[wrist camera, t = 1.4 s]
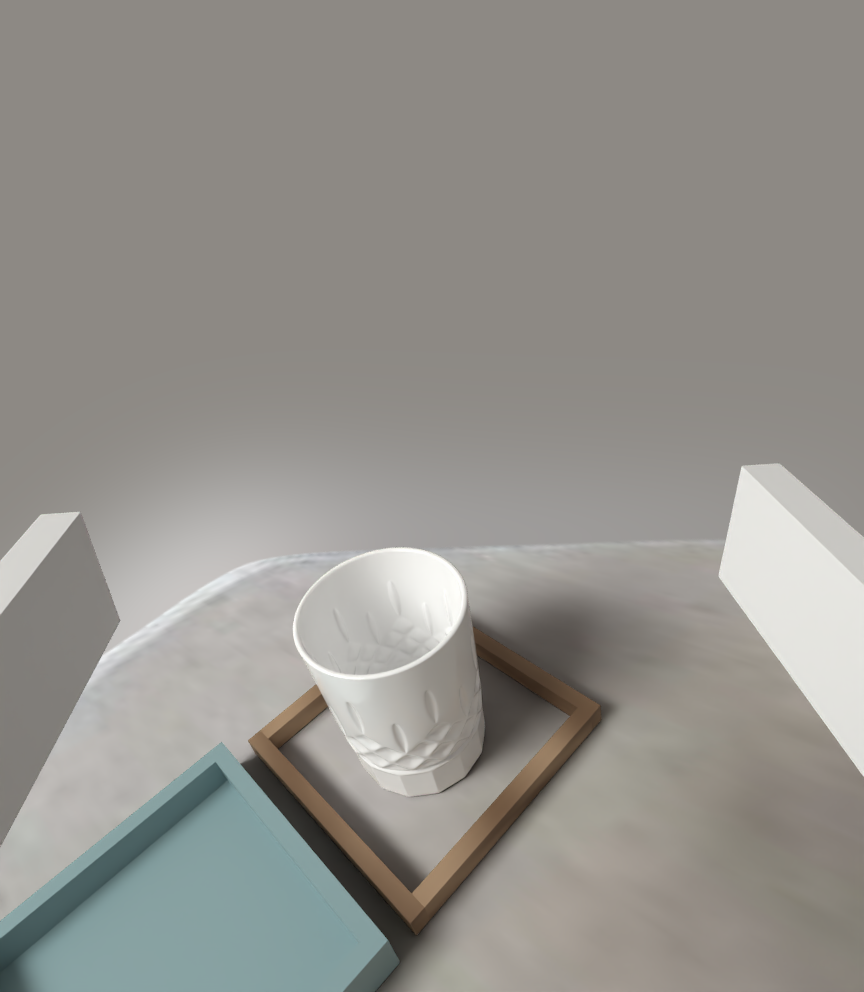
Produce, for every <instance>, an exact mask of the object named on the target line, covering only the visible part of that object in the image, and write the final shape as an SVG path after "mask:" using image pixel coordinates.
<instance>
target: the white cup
mask: <svg viewBox="0 0 864 992" xmlns="http://www.w3.org/2000/svg"><path fill="white" fill-rule="evenodd" d="M293 636H294V641H295V644H296V647H297V649H298V651H299V653H300V655H301V657H302V659H303V660H304V662H305V664H306V666H307V668H308V670H309V672H310V673H311V675H312V677H313V679H314V681H315V683H316V685H317V687H318V688H319V690H320V692H321V694H322V696H323V698H324V700H325V702H326V704H327V705H328V707H329V709H330V711H331V713H332V715H333V717H334V718H335V720H336V722H337V723H338V725H339V727H340V728H341V730H342V732H343V734H344V736H345V737H346V739H347V741H348V742H349V744H350V745H351V747H352V748H353V749H354V751H355V752H356V754H357V756H358V758H359V760H360V762H361V763H362V765H363V767H364V769H365V770H366V771H367V772H368V773H369V774H370V776H371V777H372V778H373V779H374V780H375V781H376V782H377V783H378V784H379V785H380V787H381V788H383V789H386V790H389V791H392V792H395V793H398V794H401V795H404V796H407V797H413V796H420V795H428V794H435V793H440V792H441V791H443V790H445V789H446V788H448V787H449V786H451V785H453V784H454V783H456V782H458V781H459V780H461V779H462V778H464V777H465V776H466V775H467V773H468V772H469V771H470V769H471V768H472V766H473V765H474V763H475V762H476V760H477V759H478V757H479V756H480V754H481V753H482V748H483V740H484V733H485V720H484V714H483V708H482V692H481V682H480V676H479V666H478V658H477V651H476V645H475V639H474V633H473V626H472V620H471V614H470V607H469V600H468V593H467V588H466V584H465V581H464V579H463V577H462V575H461V574H460V572H459V571H458V570H457V568H456V567H455V566H454V565H453V564H452V563H450V562H449V561H448V560H446V559H445V558H443V557H441V556H439V555H437V554H435V553H432V552H429V551H426V550H422V549H417V548H408V547H395V548H385V549H379V550H374V551H370V552H367V553H363V554H360V555H358V556H355V557H353V558H350V559H348V560H346V561H344V562H342V563H341V564H339V565H337V566H335V567H334V568H332V569H331V570H329V571H328V572H327V573H325V574H324V575H323V576H322V577H321V578H319V579H318V580H317V581H316V582H315V583H314V584H313V585H312V586H311V588H310V589H309V590H308V591H307V593H306V594H305V595H304V597H303V598H302V600H301V602H300V604H299V606H298V608H297V611H296V614H295V617H294V622H293Z"/></svg>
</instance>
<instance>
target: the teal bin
mask: <svg viewBox="0 0 864 992" xmlns="http://www.w3.org/2000/svg"><path fill="white" fill-rule="evenodd" d="M399 963H400V961H399V959H398V957H397V956H396V954H395V952H394V950H393V948H392V946H391V945H390V943H389V941H388V939H387V938H386V937H385V936H384V935H383V934H382V932H381V931H380V930H379V929H378V928H377V926H376V925H375V924H374V923H373V922H372V920H371V919H370V918H369V917H368V916H367V914H366V913H365V912H364V911H363V910H362V909H361V907H360V906H359V905H358V904H357V903H356V901H355V900H354V899H353V898H352V897H351V895H350V894H349V893H348V892H347V891H346V889H345V888H344V887H343V886H342V885H341V884H340V882H339V881H338V880H337V879H336V878H335V876H334V875H333V874H332V873H331V872H330V870H329V869H328V868H327V867H326V866H325V864H324V863H323V862H322V861H321V860H320V858H319V857H318V856H317V855H316V854H315V853H314V851H313V850H312V849H311V848H310V847H309V845H308V844H307V843H306V842H305V841H304V839H303V838H302V837H301V836H300V835H299V833H298V832H297V831H296V830H295V829H294V828H293V826H292V825H291V824H290V823H289V822H288V820H287V819H286V818H285V817H284V816H283V814H282V813H281V812H280V811H279V810H278V808H277V807H276V806H275V805H274V804H273V803H272V801H271V800H270V799H269V798H268V797H267V795H266V794H265V793H264V792H263V791H262V789H261V788H260V787H259V786H258V785H257V783H256V782H255V781H254V780H253V779H252V778H251V776H250V775H249V774H248V773H247V772H246V770H245V769H244V768H243V767H242V766H241V764H240V763H239V762H238V761H237V760H236V758H235V757H234V756H233V755H232V754H231V752H230V751H229V750H228V749H227V748H226V747H225V745H224V744H223V743H222V742H221V743H220V744H218V745H217V746H216V747H215V748H213V749H212V750H211V751H210V752H209V753H207V754H206V755H205V756H204V757H202V758H201V759H200V760H199V761H197V762H196V763H195V764H194V765H192V766H191V767H190V768H189V769H188V770H186V771H185V772H184V773H183V774H181V775H180V776H179V777H178V778H176V779H175V780H174V781H173V782H171V783H170V784H169V785H168V786H166V787H165V788H164V789H163V790H162V791H160V792H159V793H158V794H157V795H155V796H154V797H153V798H152V799H150V800H149V801H148V802H147V803H145V804H144V805H143V806H142V807H141V808H139V809H138V810H137V811H136V812H134V813H133V814H132V815H131V816H129V817H128V818H127V819H126V820H124V821H123V822H122V823H121V824H119V825H118V826H117V827H116V828H115V829H113V830H112V831H111V832H110V833H108V834H107V835H106V836H105V837H103V838H102V839H101V840H100V841H98V842H97V843H96V844H95V845H94V846H92V847H91V848H90V849H89V850H87V851H86V852H85V853H84V854H82V855H81V856H80V857H79V858H77V859H76V860H75V861H74V862H72V863H71V864H70V865H69V866H68V867H66V868H65V869H64V870H63V871H61V872H60V873H59V874H58V875H56V876H55V877H54V878H53V879H51V880H50V881H49V882H48V883H47V884H45V885H44V886H43V887H42V888H40V889H39V890H38V891H37V892H35V893H34V894H33V895H32V896H30V897H29V898H28V899H27V900H25V901H24V902H23V903H22V904H21V905H19V906H18V907H17V908H16V909H14V910H13V911H12V912H11V913H9V914H8V915H7V916H6V917H4V918H3V919H2V920H1V921H0V992H375V991H376V990H377V989H378V988H379V987H380V985H381V984H382V983H383V982H384V981H385V979H386V978H387V977H388V976H389V975H390V974H391V972H392V971H393V970H394V969H395V968H396V967H397V965H398V964H399Z"/></svg>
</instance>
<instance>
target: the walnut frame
mask: <svg viewBox="0 0 864 992" xmlns="http://www.w3.org/2000/svg"><path fill="white" fill-rule="evenodd" d="M473 633H474V639H475V645H476V651H477V655H478V656H479V657H481V658H482V659H484V660H485V661H487V662H488V663H490V664H491V665H493V666H494V667H496V668H498V669H499V670H501V671H502V672H504V673H505V674H507V675H508V676H510V677H511V678H513V679H514V680H516V681H517V682H519V683H520V684H522V685H523V686H525V687H527V688H528V689H530V690H531V691H533V692H534V693H536V694H537V695H539V696H540V697H542V698H543V699H545V700H546V701H548V702H549V703H551V704H552V705H554V706H556V707H557V708H559V709H560V710H562V711H563V712H565V713H566V714H568V715H569V716H570V717H569V718H568V719H567V720H566V721H565V723H564V724H563V725H562V726H561V727H560V728H559V729H558V730H557V732H556V733H555V734H554V735H553V736H552V737H551V738H550V739H549V740H548V742H547V743H546V744H545V745H544V746H543V747H542V748H541V749H540V751H539V752H538V753H537V754H536V755H535V756H534V757H533V758H532V759H531V761H530V762H529V763H528V764H527V765H526V766H525V767H524V768H523V770H522V771H521V772H520V773H519V774H518V775H517V776H516V777H515V779H514V780H513V781H512V782H511V783H510V784H509V785H508V786H507V787H506V789H505V790H504V791H503V792H502V793H501V794H500V795H499V796H498V798H497V799H496V800H495V801H494V802H493V803H492V804H491V805H490V806H489V808H488V809H487V810H486V811H485V812H484V813H483V814H482V815H481V817H480V818H479V819H478V820H477V821H476V822H475V823H474V824H473V825H472V827H471V828H470V829H469V830H468V831H467V832H466V833H465V834H464V836H463V837H462V838H461V839H460V840H459V841H458V842H457V843H456V845H455V846H454V847H453V848H452V849H451V850H450V851H449V852H448V853H447V855H446V856H445V857H444V858H443V859H442V860H441V861H440V862H439V864H438V865H437V866H436V867H435V868H434V869H433V870H432V871H431V872H430V874H429V875H428V876H427V877H426V878H425V879H424V880H423V881H422V883H421V884H420V885H419V886H418V887H417V888H416V889H415V890H414V891H413V893H411V892H410V891H409V890H408V889H407V888H406V887H405V886H404V885H403V884H402V883H401V882H400V880H399V879H398V878H397V877H396V876H395V875H394V874H393V873H392V872H391V871H390V870H389V869H388V867H387V866H386V865H385V864H384V863H383V862H382V861H381V860H380V859H379V858H378V857H377V856H376V855H375V853H374V852H373V851H372V850H371V849H370V848H369V847H368V846H367V845H366V844H365V843H364V842H363V841H362V839H361V838H360V837H359V836H358V835H357V834H356V833H355V832H354V831H353V830H352V829H351V828H350V826H349V825H348V824H347V823H346V822H345V821H344V820H343V819H342V818H341V817H340V816H339V815H338V814H337V812H336V811H335V810H334V809H333V808H332V807H331V806H330V805H329V804H328V803H327V802H326V801H325V800H324V798H323V797H322V796H321V795H320V794H319V793H318V792H317V791H316V790H315V789H314V788H313V787H312V786H311V784H310V783H309V782H308V781H307V780H306V779H305V778H304V777H303V776H302V775H301V774H300V773H299V771H298V770H297V769H296V768H295V767H294V766H293V765H292V764H291V763H290V762H289V761H288V760H287V759H286V757H285V756H284V755H283V754H282V753H281V752H280V751H279V750H278V749H279V748H280V747H281V746H282V745H283V744H284V743H286V742H287V741H288V740H289V739H290V738H291V737H293V736H294V735H295V734H296V733H297V732H298V731H300V730H301V729H302V728H303V727H304V726H306V725H307V724H308V723H309V722H310V721H311V720H313V719H314V718H315V717H316V716H317V715H318V714H320V713H321V712H322V711H323V710H324V709H325V708H327V707H328V705H327V704H326V702H325V700H324V698H323V696H322V694H321V692H320V690H319V688H318V687H317V685H315V686H313V687H312V688H311V689H310V690H309V691H307V692H306V693H305V694H304V695H302V696H301V697H300V698H299V699H298V700H296V701H295V702H294V703H293V704H292V705H290V706H289V707H288V708H287V709H286V710H284V711H283V712H282V713H281V714H279V715H278V716H277V717H276V718H275V719H273V720H272V721H271V722H270V723H269V724H267V725H266V726H265V727H264V728H263V729H261V730H260V731H259V732H258V733H256V734H255V735H254V736H253V737H252V738H250V739H249V740H248V742H249V743H250V745H251V747H252V748H253V750H254V752H255V753H256V754H257V756H258V757H259V758H260V759H261V760H262V761H263V762H264V764H265V765H266V766H267V767H268V768H269V769H270V770H271V771H272V773H273V774H274V775H275V776H276V777H277V778H278V779H279V781H280V782H281V783H282V784H283V785H284V786H285V787H286V788H287V790H288V791H289V792H290V793H291V794H292V795H293V796H294V798H295V799H296V800H297V801H298V802H299V803H300V804H301V805H302V807H303V808H304V809H305V810H306V811H307V812H308V813H309V815H310V816H311V817H312V818H313V819H314V820H315V821H316V822H317V824H318V825H319V826H320V827H321V828H322V829H323V830H324V832H325V833H326V834H327V835H328V836H329V837H330V838H331V839H332V841H333V842H334V843H335V844H336V845H337V846H338V847H339V849H340V850H341V851H342V852H343V853H344V854H345V855H346V857H347V858H348V859H349V860H350V861H351V862H352V863H353V864H354V866H355V867H356V868H357V869H358V870H359V871H360V872H361V874H362V875H363V876H364V877H365V878H366V879H367V880H368V881H369V883H370V884H371V885H372V886H373V887H374V888H375V889H376V891H377V892H378V893H379V894H380V895H381V896H382V897H383V898H384V900H385V901H386V902H387V903H388V904H389V905H390V906H391V908H392V909H393V910H394V911H395V912H396V913H397V914H398V915H399V917H400V918H401V919H402V920H403V921H404V922H405V923H406V925H407V926H408V927H409V928H410V929H411V930H412V931H413V932H414V934H415V935H416V936H417V934H418V933H419V932H420V931H421V930H422V929H423V927H424V926H425V925H426V924H427V923H428V922H429V920H430V919H431V918H432V917H433V916H434V915H435V913H436V912H437V911H438V910H439V909H440V908H441V906H442V905H443V904H444V903H445V902H446V901H447V899H448V898H449V897H450V896H451V895H452V894H453V892H454V891H455V890H456V889H457V888H458V887H459V885H460V884H461V883H462V882H463V881H464V880H465V878H466V877H467V876H468V875H469V874H470V873H471V871H472V870H473V869H474V868H475V867H476V866H477V864H478V863H479V862H480V861H481V860H482V859H483V857H484V856H485V855H486V854H487V853H488V852H489V850H490V849H491V848H492V847H493V846H494V845H495V843H496V842H497V841H498V840H499V839H500V838H501V836H502V835H503V834H504V833H505V832H506V831H507V829H508V828H509V827H510V826H511V825H512V824H513V822H514V821H515V820H516V819H517V818H518V817H519V815H520V814H521V813H522V812H523V811H524V810H525V808H526V807H527V806H528V805H529V804H530V803H531V801H532V800H533V799H534V798H535V797H536V796H537V794H538V793H539V792H540V791H541V790H542V789H543V787H544V786H545V785H546V784H547V783H548V782H549V780H550V779H551V778H552V777H553V776H554V775H555V773H556V772H557V771H558V770H559V769H560V768H561V766H562V765H563V764H564V763H565V762H566V761H567V759H568V758H569V757H570V756H571V755H572V754H573V752H574V751H575V750H576V749H577V748H578V747H579V745H580V744H581V743H582V742H583V741H584V740H585V738H586V737H587V736H588V735H589V734H590V733H591V731H592V730H593V729H594V728H595V727H596V726H597V724H598V723H599V722H600V721H601V705H599V704H597V703H596V702H594V701H593V700H591V699H589V698H588V697H586V696H584V695H583V694H581V693H580V692H578V691H576V690H575V689H573V688H572V687H570V686H568V685H567V684H565V683H563V682H562V681H560V680H559V679H557V678H555V677H554V676H552V675H551V674H549V673H547V672H546V671H544V670H542V669H541V668H539V667H538V666H536V665H534V664H533V663H531V662H530V661H528V660H526V659H525V658H523V657H521V656H520V655H518V654H517V653H515V652H513V651H512V650H510V649H509V648H507V647H505V646H504V645H502V644H500V643H499V642H497V641H496V640H494V639H492V638H491V637H489V636H488V635H486V634H484V633H483V632H481V631H479V630H478V629H476V628H475V627H473Z"/></svg>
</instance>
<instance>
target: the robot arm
mask: <svg viewBox="0 0 864 992" xmlns="http://www.w3.org/2000/svg"><path fill="white" fill-rule="evenodd" d="M719 578H720V579H721V581H722V582H723V583H724V585H725V586H726V587H727V589H728V590H729V592H730V593H731V594H732V596H733V597H734V598H735V600H736V601H737V603H738V604H739V605H740V607H741V608H742V610H743V611H744V612H745V614H746V615H747V616H748V618H749V619H750V621H751V622H752V623H753V625H754V626H755V627H756V629H757V630H758V632H759V633H760V634H761V636H762V637H763V638H764V640H765V641H766V643H767V644H768V645H769V647H770V648H771V650H772V651H773V652H774V654H775V655H776V656H777V658H778V659H779V661H780V662H781V663H782V665H783V666H784V667H785V669H786V670H787V672H788V673H789V674H790V676H791V677H792V678H793V680H794V681H795V683H796V684H797V685H798V687H799V688H800V690H801V691H802V692H803V694H804V695H805V696H806V698H807V699H808V701H809V702H810V703H811V705H812V706H813V707H814V709H815V710H816V712H817V713H818V714H819V716H820V717H821V718H822V720H823V721H824V723H825V724H826V725H827V727H828V728H829V730H830V731H831V732H832V734H833V735H834V736H835V738H836V739H837V741H838V742H839V743H840V745H841V746H842V747H843V749H844V750H845V752H846V753H847V754H848V756H849V757H850V758H851V760H852V761H853V763H854V764H855V765H856V767H857V768H858V770H859V771H860V772H861V774H862V775H863V776H864V537H863V536H861V535H860V534H859V533H858V532H857V531H856V530H855V529H853V528H852V527H851V526H850V525H849V524H848V523H847V522H846V521H844V520H843V519H842V518H841V517H840V516H839V515H837V514H836V513H835V512H834V511H833V510H832V509H831V508H830V507H828V506H827V505H826V504H825V503H824V502H823V501H822V500H820V499H819V498H818V497H817V496H816V495H815V494H814V493H812V492H811V491H810V490H809V489H808V488H807V487H806V486H805V485H803V484H802V483H801V482H800V481H799V480H798V479H797V478H795V477H794V476H793V475H792V474H791V473H790V472H789V471H787V470H786V469H785V468H784V467H783V466H782V465H781V464H779V463H777V464H762V465H747V466H742V468H741V472H740V477H739V482H738V486H737V491H736V496H735V500H734V505H733V510H732V515H731V519H730V524H729V529H728V534H727V538H726V543H725V548H724V552H723V557H722V562H721V567H720V571H719ZM119 622H120V619H119V616H118V613H117V611H116V608H115V605H114V602H113V600H112V597H111V594H110V591H109V588H108V586H107V583H106V580H105V577H104V575H103V572H102V569H101V566H100V564H99V561H98V558H97V556H96V553H95V550H94V547H93V545H92V542H91V539H90V536H89V534H88V531H87V528H86V526H85V523H84V520H83V517H82V515H81V512H71V513H56V514H43V515H42V514H41V515H40V516H39V517H38V519H36V521H35V522H34V523H33V524H32V525H31V526H30V527H29V529H28V530H27V531H26V532H25V533H24V534H23V535H22V537H21V538H20V539H19V540H18V541H17V542H16V544H15V545H14V546H13V547H12V548H11V549H10V550H9V552H8V553H7V554H6V555H5V556H4V557H3V559H2V560H1V561H0V847H1V845H2V843H3V841H4V839H5V837H6V835H7V833H8V832H9V830H10V828H11V826H12V824H13V822H14V820H15V818H16V817H17V815H18V813H19V811H20V809H21V807H22V805H23V803H24V801H25V800H26V798H27V796H28V794H29V792H30V790H31V788H32V786H33V784H34V783H35V781H36V779H37V777H38V775H39V773H40V771H41V769H42V767H43V766H44V764H45V762H46V760H47V758H48V756H49V754H50V752H51V750H52V749H53V747H54V745H55V743H56V741H57V739H58V737H59V735H60V734H61V732H62V730H63V728H64V726H65V724H66V722H67V720H68V718H69V717H70V715H71V713H72V711H73V709H74V707H75V705H76V703H77V701H78V700H79V698H80V696H81V694H82V692H83V690H84V688H85V686H86V684H87V683H88V681H89V679H90V677H91V675H92V673H93V671H94V669H95V668H96V666H97V664H98V662H99V660H100V658H101V656H102V654H103V652H104V651H105V649H106V647H107V645H108V643H109V641H110V639H111V637H112V635H113V633H114V632H115V630H116V628H117V626H118V624H119Z"/></svg>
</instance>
